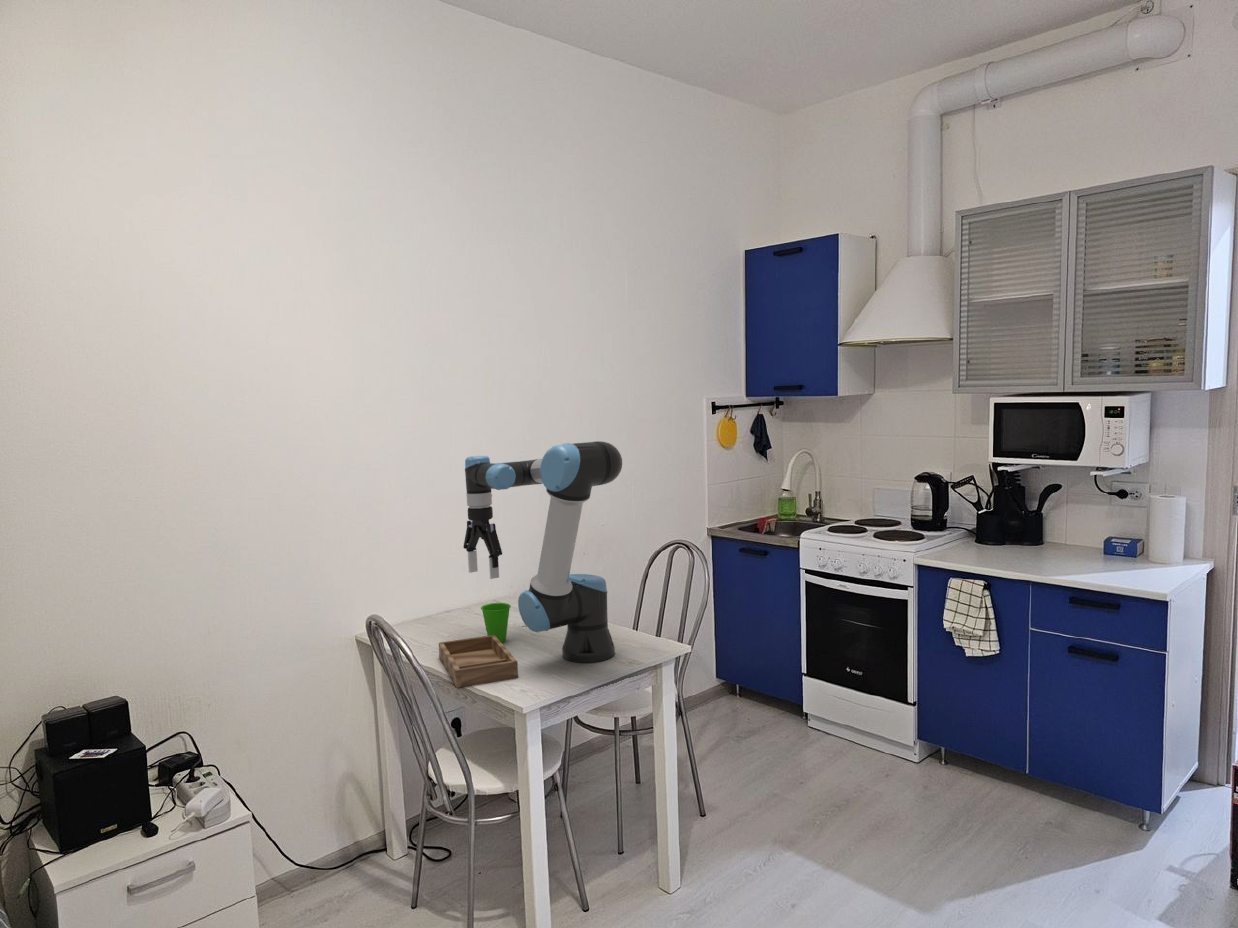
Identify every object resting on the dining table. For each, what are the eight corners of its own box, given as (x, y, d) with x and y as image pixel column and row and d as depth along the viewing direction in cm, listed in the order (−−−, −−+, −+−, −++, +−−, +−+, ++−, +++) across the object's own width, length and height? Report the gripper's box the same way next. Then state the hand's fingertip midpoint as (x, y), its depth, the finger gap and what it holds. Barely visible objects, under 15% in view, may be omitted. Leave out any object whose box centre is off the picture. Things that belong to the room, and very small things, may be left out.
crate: (518, 677, 218) (517, 661, 217) (456, 687, 212) (455, 670, 211) (495, 649, 242) (494, 634, 242) (439, 657, 236) (438, 642, 236)
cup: (506, 646, 244) (504, 610, 243) (477, 645, 246) (476, 610, 245) (516, 637, 253) (514, 603, 252) (488, 636, 255) (486, 602, 254)
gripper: (511, 508, 242) (515, 578, 243) (471, 502, 261) (475, 567, 263) (488, 511, 237) (492, 582, 239) (450, 504, 257) (454, 571, 258)
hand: (483, 575), depth 251 cm, fingers open, 13 cm apart
